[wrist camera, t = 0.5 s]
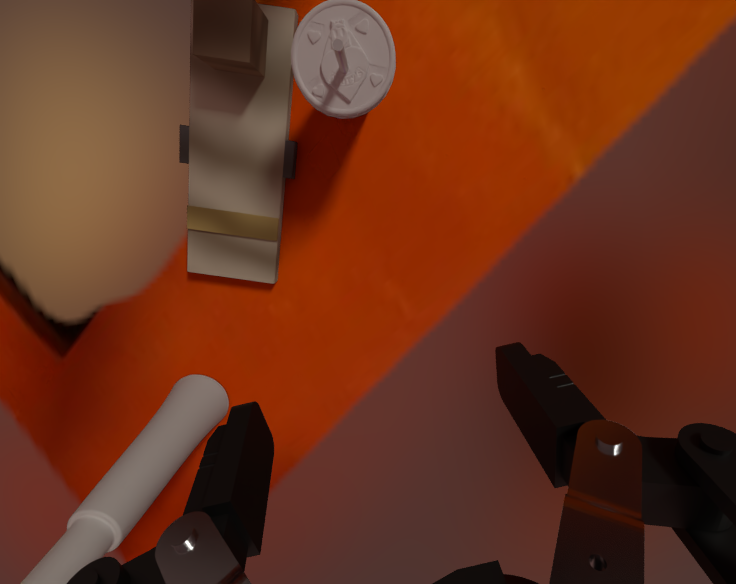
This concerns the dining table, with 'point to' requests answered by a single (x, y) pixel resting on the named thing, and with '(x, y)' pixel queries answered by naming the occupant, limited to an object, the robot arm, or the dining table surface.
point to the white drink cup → (343, 58)
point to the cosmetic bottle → (135, 479)
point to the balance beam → (238, 136)
